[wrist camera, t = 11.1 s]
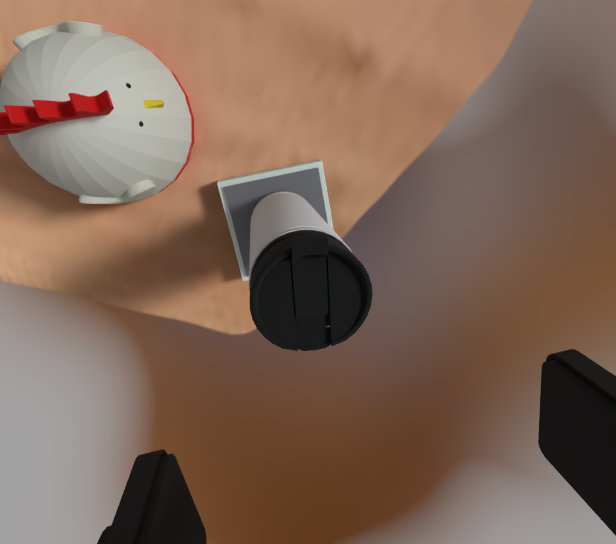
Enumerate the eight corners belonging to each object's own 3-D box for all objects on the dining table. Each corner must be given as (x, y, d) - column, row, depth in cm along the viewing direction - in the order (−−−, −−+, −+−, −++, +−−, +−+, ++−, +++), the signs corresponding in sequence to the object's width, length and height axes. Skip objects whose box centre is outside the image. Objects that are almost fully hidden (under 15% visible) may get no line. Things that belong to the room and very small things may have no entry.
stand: (218, 180, 37) (216, 182, 35) (318, 159, 38) (322, 161, 36) (243, 274, 41) (242, 282, 38) (334, 254, 41) (339, 260, 39)
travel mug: (312, 183, 36) (377, 230, 18) (316, 250, 38) (378, 355, 20) (246, 189, 36) (239, 244, 17) (254, 257, 38) (256, 371, 19)
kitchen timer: (212, 183, 38) (188, 208, 23) (70, 214, 37) (-43, 260, 23) (166, 21, 33) (101, -69, 19) (1, 52, 32) (-196, -17, 18)
